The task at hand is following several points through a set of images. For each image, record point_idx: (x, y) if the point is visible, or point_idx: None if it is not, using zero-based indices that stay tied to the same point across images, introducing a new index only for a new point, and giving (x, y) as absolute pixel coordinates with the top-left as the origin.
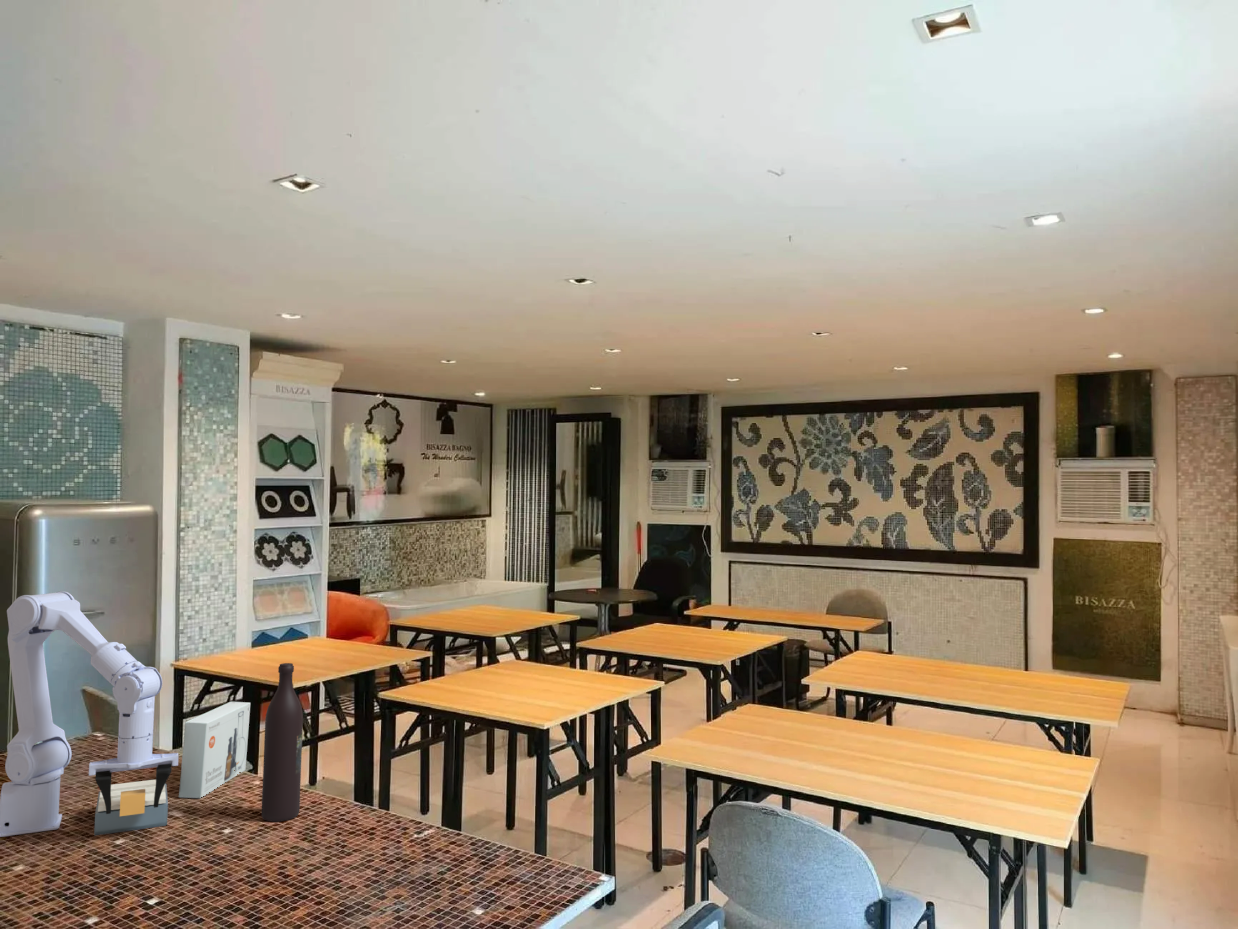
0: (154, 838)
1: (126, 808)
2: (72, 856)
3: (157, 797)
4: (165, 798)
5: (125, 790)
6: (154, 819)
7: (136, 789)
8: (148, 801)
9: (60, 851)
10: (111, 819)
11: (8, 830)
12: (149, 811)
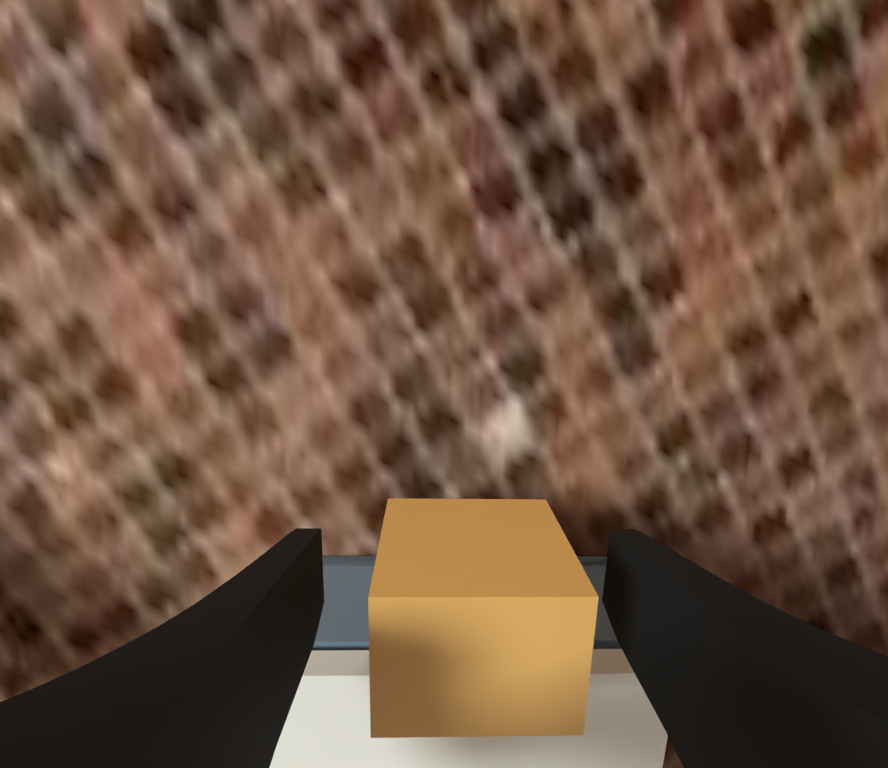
0: (345, 392)
1: (514, 524)
2: (726, 308)
3: (269, 564)
4: None
5: None
6: (342, 580)
7: None
8: (360, 672)
9: (766, 409)
10: None
11: None
12: (362, 617)
